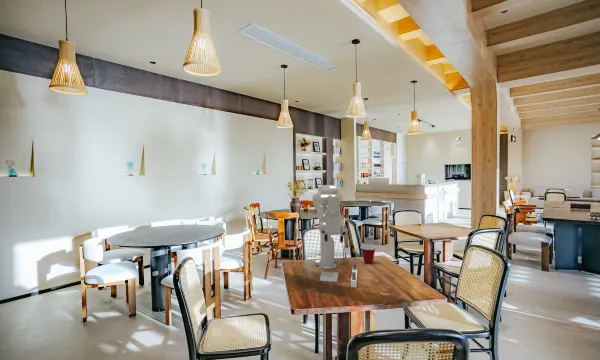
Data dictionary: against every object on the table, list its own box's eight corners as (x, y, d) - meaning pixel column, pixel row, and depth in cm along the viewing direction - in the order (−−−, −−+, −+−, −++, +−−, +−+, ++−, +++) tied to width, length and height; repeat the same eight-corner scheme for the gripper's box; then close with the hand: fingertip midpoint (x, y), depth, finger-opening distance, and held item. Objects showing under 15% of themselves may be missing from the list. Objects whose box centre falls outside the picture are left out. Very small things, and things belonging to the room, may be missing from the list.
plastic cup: (358, 264, 228) (358, 247, 228) (363, 260, 237) (363, 244, 237) (373, 266, 223) (373, 248, 223) (377, 262, 232) (377, 245, 232)
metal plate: (320, 281, 191) (320, 276, 191) (322, 276, 201) (322, 271, 201) (337, 282, 189) (336, 277, 189) (338, 277, 199) (338, 272, 199)
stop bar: (351, 287, 180) (351, 273, 180) (352, 273, 206) (352, 261, 205) (356, 287, 179) (356, 274, 179) (357, 273, 205) (357, 262, 205)
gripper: (318, 214, 200) (318, 242, 200) (345, 215, 194) (345, 243, 194) (322, 213, 207) (322, 239, 207) (348, 214, 201) (348, 241, 201)
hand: (333, 241), depth 200 cm, fingers open, 9 cm apart
